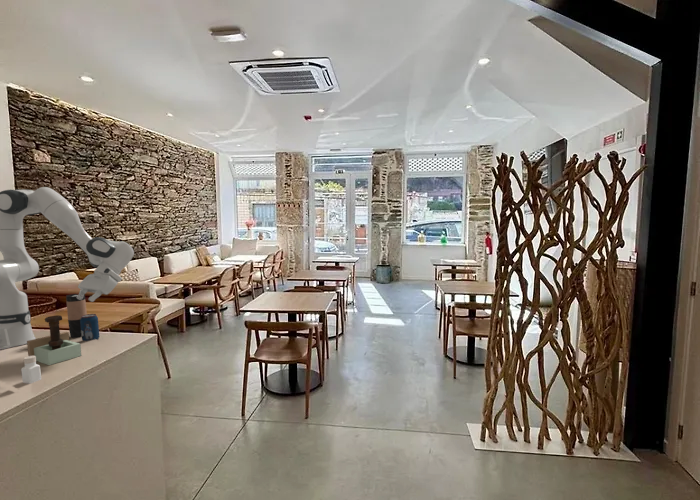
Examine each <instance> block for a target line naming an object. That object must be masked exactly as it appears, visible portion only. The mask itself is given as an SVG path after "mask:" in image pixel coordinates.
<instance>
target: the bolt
mask: <svg viewBox="0 0 700 500" xmlns="http://www.w3.org/2000/svg"><path fill="white" fill-rule="evenodd" d="M60 321H63V316H62V315H58V314H57V315H51V316H46V317H45V318H44V322H45V323H48V327H49V336H50V337H51V340H50V341H49V342H48V343H49V346H51V347H52V350H55V349H59V348H61V345H62V344H63V340H62V339H60V333H61V328H60Z"/></svg>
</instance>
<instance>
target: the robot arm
mask: <svg viewBox="0 0 700 500" xmlns="http://www.w3.org/2000/svg"><path fill="white" fill-rule="evenodd" d="M38 214H42V215H43V216H44V218H45V219H46V220H48V221H49V222H50V223H52V224H53V225H54V226H55V227H57V228H58V229H59V230H60V231H62V232H63V233H64V234H65V235H67V236H68V237H69V238H70V239H71V240H72V241H73V242H74V243H75V244H76V245H77V246H78V247H79V248H80V249H81V250H82V251H83V252H84V253H85V255H86V256H87V259H88V261H89V264H90V265H91V266H92V267H94V268H95V269H94V271H93V273H90V274H88V275H87V276H85V277H84V278H83V280H82V281H80V282H79V284H78V286H77V288H78V289H79V293H78V294H77V295H78V296H77V297H76V298H77V299H79V300H82V298H83V296H84V294H85V295H86V294H87V293H93V294H92V295H90V296H89V297H88V299H87V300H88V301H89V302H91V303H93V302H95V301H96V299H98V298H99V297H101V296H102V295H109V294H110V293H111V292H112V291H113V290H114V289H115V288H116V287H117V285H118V284H119V283H120V282H122V280H123V278H122V277H121V276H120V274H121V272H122V270H123V269H125V267H127V266H128V264H129V263H130V261H132V259H133V257H134V255H135V251H134V248H133V247H132V245H131V244H130V243H127V242H126V241H122V240H121V241H115V240H114V241H113V240H110V239H106V238H104V237H99V236H98V237H93V238H92V237H91V235H90V234H88V232H86V230H85V229H84V226H83V224H82V222H81V219H80V217H79V214H78V212H77V210H76V209H75V208H74V206H73V205H72V204H71V203H70V202H69V201H68V200H67V199H66V198H65V197H64V196H62V195H61V194H60V193H59V192H57V191H56V190H54V189H53V188H50V187H48V186H42V187H39V188H37V189H35V190H32V189H5V190H1V191H0V253H1V255H2V256H3V259H0V350H6V349H9V348H13V347H17V346H23V345H27V341H29V340H34V339H37V337H35V334H34V331H33V329H32V325H31V320H32V319H31V312H30V311H31V310H29V302H28V295H27V293H26V292H24V291H22V290H19V289H18V287H17V286H16V285H17V284H16V283H18V282H19V283H20V282H24V281H28V280H29V279H32V278H34V277H36V276H37V275H38V273H39V271H40V266H39V264H38V262H37V260H35V259H33V257H31V256H30V254H29V253H28V251H27V249H26V247H25V241H24V238H25V237H24V222H23V221H24V218H25V216H27V215H28V216H30V217H32V216H34V215H38Z"/></svg>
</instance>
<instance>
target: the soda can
mask: <svg viewBox="0 0 700 500" xmlns="http://www.w3.org/2000/svg"><path fill="white" fill-rule="evenodd" d="M80 324H81V336H82V337H81V340H82V342H85V341H86V342H88V341H94V340H97V341H98V340H99V339H100V328H99V325H100V324H99V317H98V316H97V314H96V313H87V315H83V316H81V320H80Z"/></svg>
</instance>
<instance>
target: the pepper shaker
mask: <svg viewBox="0 0 700 500" xmlns="http://www.w3.org/2000/svg"><path fill="white" fill-rule="evenodd" d="M23 364H24V366H23V367H21V369H20V370H21V371H20V372H21V380H22V383H23V384H34V383H36V382H38V381H41V380H42V373H41V366H40V364H37V361H36V356H28V355H27V356H25V357H23Z"/></svg>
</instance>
